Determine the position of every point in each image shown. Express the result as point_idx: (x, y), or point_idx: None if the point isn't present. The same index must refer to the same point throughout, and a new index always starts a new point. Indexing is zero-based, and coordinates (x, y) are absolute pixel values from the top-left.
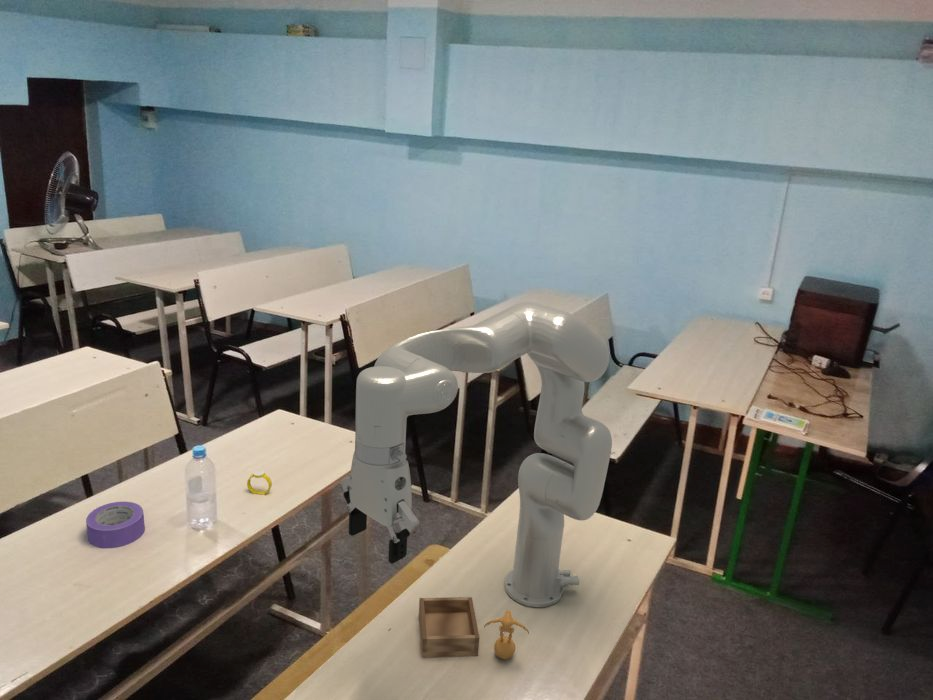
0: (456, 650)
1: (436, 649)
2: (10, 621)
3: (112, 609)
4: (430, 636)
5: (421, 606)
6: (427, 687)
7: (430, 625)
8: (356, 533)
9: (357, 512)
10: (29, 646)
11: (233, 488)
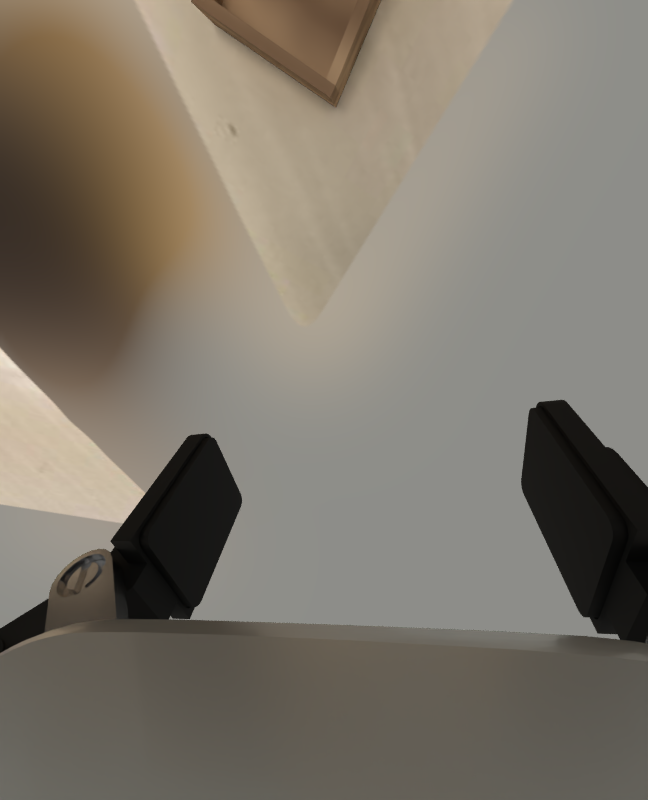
0: (375, 3)
1: (349, 64)
2: (93, 517)
3: (89, 456)
4: (331, 69)
5: (224, 19)
6: (408, 146)
7: (268, 20)
8: (234, 484)
9: (171, 589)
10: None
11: None
